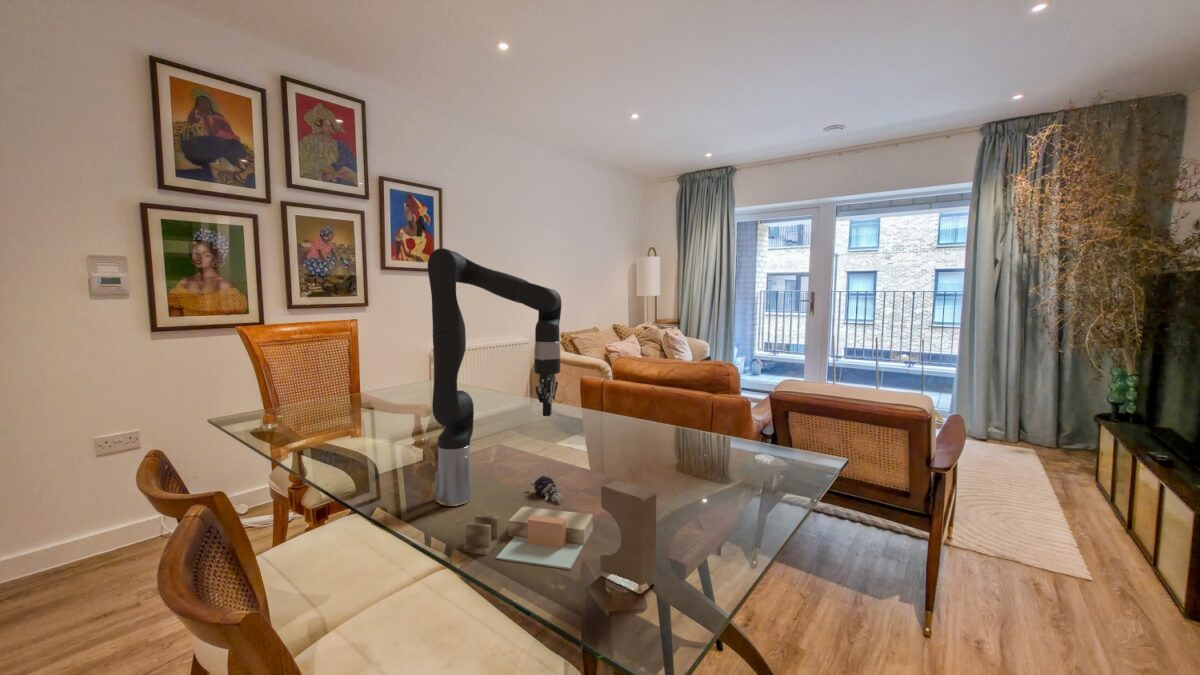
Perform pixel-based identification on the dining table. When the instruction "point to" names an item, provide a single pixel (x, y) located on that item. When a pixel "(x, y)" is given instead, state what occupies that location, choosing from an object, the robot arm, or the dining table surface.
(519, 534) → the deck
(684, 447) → the dining table surface
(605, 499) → the decorative block
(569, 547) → the mat
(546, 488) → the figurine
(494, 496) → the dining table surface
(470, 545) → the slotted rack
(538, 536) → the tile
